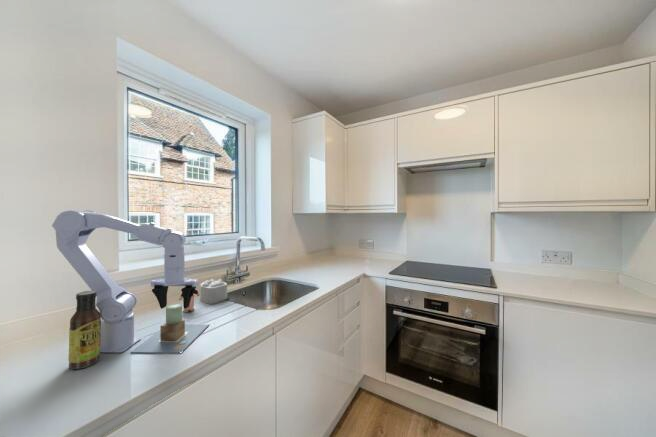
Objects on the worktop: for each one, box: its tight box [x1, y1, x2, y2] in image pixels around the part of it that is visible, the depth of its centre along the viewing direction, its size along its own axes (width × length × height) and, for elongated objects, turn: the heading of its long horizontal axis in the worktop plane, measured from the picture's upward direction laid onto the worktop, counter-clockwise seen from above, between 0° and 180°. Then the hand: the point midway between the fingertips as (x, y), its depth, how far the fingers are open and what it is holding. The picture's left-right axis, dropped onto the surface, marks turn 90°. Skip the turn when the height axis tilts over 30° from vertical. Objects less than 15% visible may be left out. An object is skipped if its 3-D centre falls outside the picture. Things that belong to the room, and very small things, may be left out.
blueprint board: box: [130, 323, 210, 354], centre depth 82 cm, size 15×18×1 cm
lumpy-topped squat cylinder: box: [199, 278, 228, 304], centre depth 120 cm, size 10×13×9 cm
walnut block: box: [159, 318, 186, 341], centre depth 82 cm, size 5×5×5 cm
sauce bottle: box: [68, 290, 102, 370], centre depth 68 cm, size 6×6×20 cm
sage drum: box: [165, 304, 183, 325], centre depth 82 cm, size 5×5×5 cm
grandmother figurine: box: [178, 289, 200, 313], centre depth 105 cm, size 8×4×13 cm, turn 143°
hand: (175, 307), depth 82 cm, fingers open, 7 cm apart
